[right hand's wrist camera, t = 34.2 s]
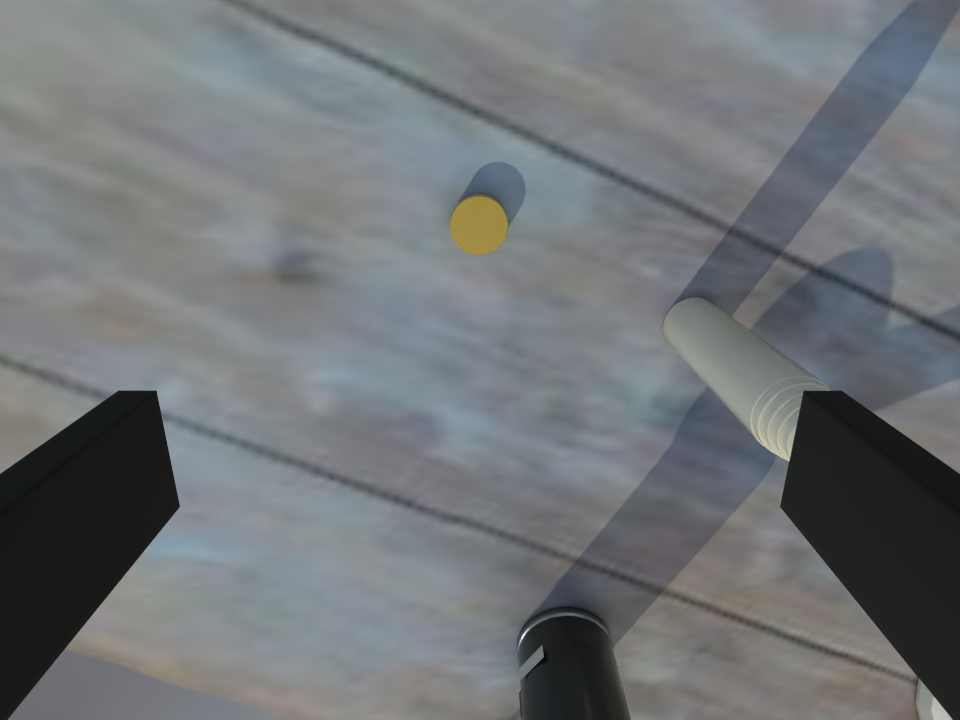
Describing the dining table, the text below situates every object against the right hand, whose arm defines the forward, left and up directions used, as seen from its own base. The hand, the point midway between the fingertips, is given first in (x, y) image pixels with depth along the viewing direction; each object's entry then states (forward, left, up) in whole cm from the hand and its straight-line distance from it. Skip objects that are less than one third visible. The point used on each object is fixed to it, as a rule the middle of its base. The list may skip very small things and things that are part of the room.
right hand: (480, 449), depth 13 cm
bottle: (+10, +16, -36) cm, 41 cm away
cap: (0, 0, -34) cm, 34 cm away
